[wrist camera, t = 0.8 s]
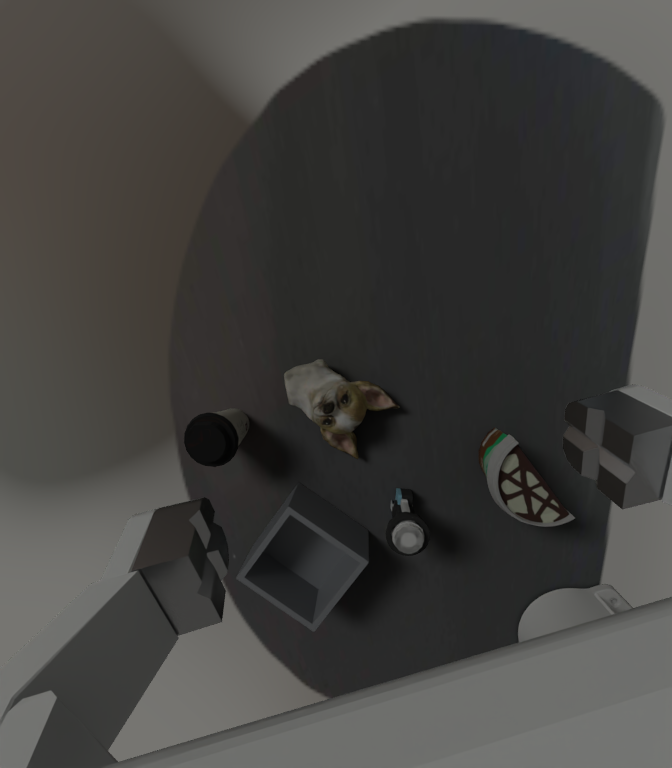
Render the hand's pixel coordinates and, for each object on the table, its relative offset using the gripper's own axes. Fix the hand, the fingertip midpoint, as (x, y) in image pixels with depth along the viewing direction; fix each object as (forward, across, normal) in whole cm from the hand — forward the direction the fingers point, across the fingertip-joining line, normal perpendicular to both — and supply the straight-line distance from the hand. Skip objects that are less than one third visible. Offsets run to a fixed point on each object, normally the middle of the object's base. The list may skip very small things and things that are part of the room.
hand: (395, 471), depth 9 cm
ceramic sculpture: (+42, +2, -20) cm, 47 cm away
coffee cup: (+45, -14, -21) cm, 51 cm away
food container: (+35, +21, -32) cm, 52 cm away
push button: (+36, +7, -36) cm, 51 cm away
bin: (+37, -7, -39) cm, 54 cm away
